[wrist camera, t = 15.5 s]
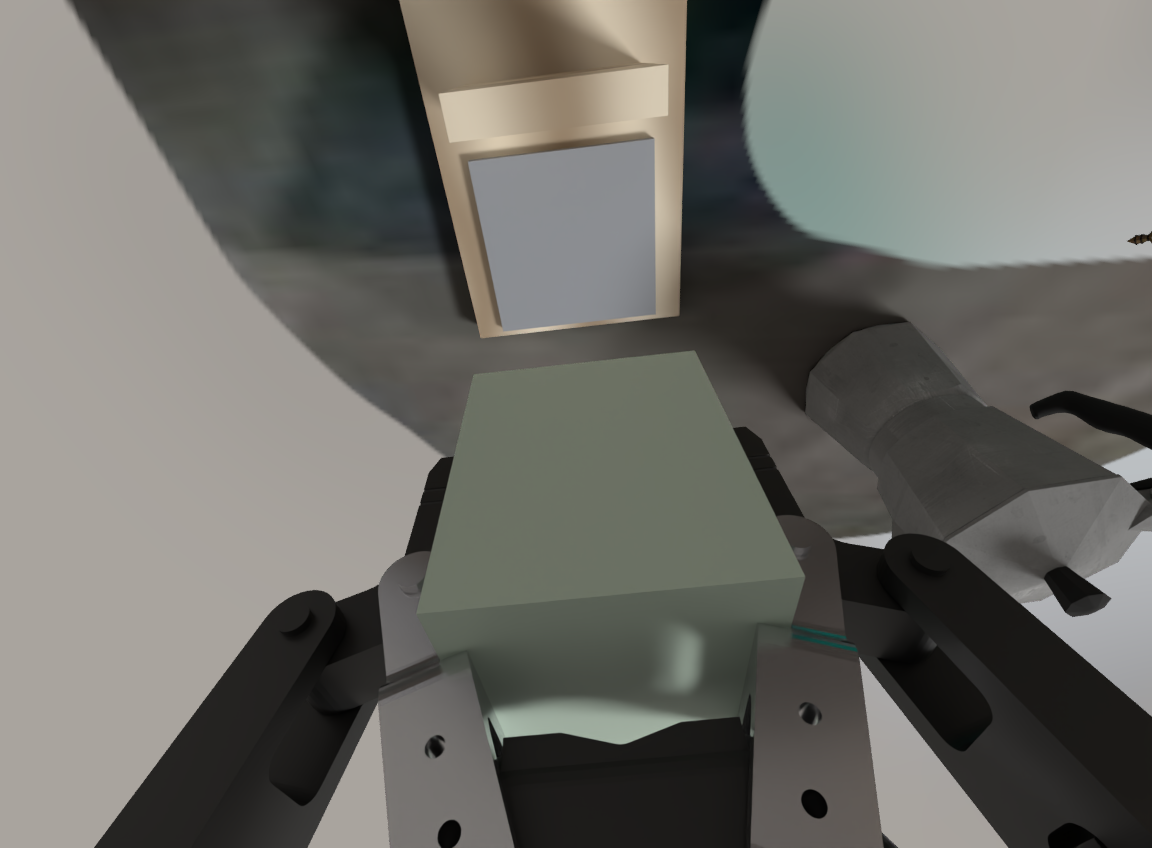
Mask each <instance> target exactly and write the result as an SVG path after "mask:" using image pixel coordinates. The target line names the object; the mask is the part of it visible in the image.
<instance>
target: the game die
mask: <svg viewBox="0 0 1152 848" xmlns="http://www.w3.org/2000/svg"><path fill="white" fill-rule="evenodd" d="M1146 241H1151V243H1152V232H1151V233H1150V234H1149V235H1144V234H1141V235H1135V237H1133V238H1132V239H1130V240H1128V242H1131V243H1134V244H1136V245H1137V244H1139V243H1141V244H1143V243H1144V242H1146Z"/></svg>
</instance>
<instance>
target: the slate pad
mask: <svg viewBox="0 0 1152 848" xmlns="http://www.w3.org/2000/svg"><path fill="white" fill-rule="evenodd" d="M468 165H469V170H470V175H471V180H472V184H473V189H474V194H475V199H476V203H477V208H478V213H479V218H480V223H481V227H482V232H483V237H484V242H485V246H486V251H487V256H488V261H489V266H490V270H491V275H492V280H493V285H494V289H495V294H496V299H497V304H498V308H499V313H500V318H501V323H502V328H503V332H504V331H513V330H521V329H530V328H539V327H548V326H557V325H566V324H574V323H583V322H592V321H601V320H610V319H619V318H627V317H636V316H645V315H654V314H656V274H655V139H654V138H653V137H652V138H644V139H636V140H628V141H620V142H612V143H603V144H595V145H587V146H579V147H571V148H563V149H555V150H547V151H539V152H531V153H522V154H514V155H506V156H498V157H490V158H482V159H474V160H469V161H468Z"/></svg>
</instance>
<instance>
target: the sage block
mask: <svg viewBox="0 0 1152 848" xmlns="http://www.w3.org/2000/svg"><path fill="white" fill-rule="evenodd" d="M804 580H805V575H804V573H803V571H802V569H801V567H800V565H799V562H798V560H797V558H796V556H795V554H794V552H793V550H792V548H791V546H790V544H789V542H788V540H787V538H786V536H785V534H784V532H783V530H782V528H781V526H780V524H779V522H778V520H777V518H776V516H775V513H774V511H773V509H772V507H771V505H770V503H769V501H768V499H767V497H766V495H765V493H764V491H763V489H762V487H761V485H760V483H759V481H758V479H757V477H756V475H755V473H754V471H753V469H752V466H751V464H750V462H749V460H748V458H747V456H746V454H745V452H744V450H743V448H742V446H741V444H740V442H739V440H738V438H737V436H736V434H735V432H734V430H733V428H732V426H731V424H730V422H729V419H728V417H727V415H726V413H725V411H724V409H723V407H722V405H721V403H720V401H719V399H718V397H717V395H716V393H715V391H714V389H713V387H712V385H711V383H710V381H709V379H708V377H707V375H706V372H705V370H704V368H703V366H702V364H701V362H700V360H699V358H698V356H697V354H696V352H695V350H694V351H685V352H676V353H667V354H658V355H648V356H639V357H630V358H621V359H612V360H603V361H593V362H584V363H575V364H566V365H557V366H547V367H538V368H529V369H520V370H511V371H501V372H492V373H483V374H474V375H473V380H472V384H471V388H470V392H469V396H468V400H467V405H466V409H465V413H464V417H463V421H462V425H461V430H460V434H459V438H458V442H457V446H456V450H455V455H454V459H453V463H452V467H451V471H450V475H449V480H448V484H447V488H446V492H445V496H444V500H443V504H442V509H441V513H440V517H439V521H438V525H437V529H436V534H435V538H434V542H433V546H432V550H431V554H430V559H429V563H428V567H427V571H426V575H425V579H424V584H423V588H422V592H421V596H420V600H419V604H418V609H417V613H416V615H417V617H418V619H419V621H420V622H421V624H422V626H423V628H424V630H425V632H426V634H427V636H428V638H429V640H430V642H431V644H432V646H433V648H434V650H435V652H436V653H437V655H438V657H439V659H440V660H442V659H445V658H447V657H449V656H452V655H454V654H457V653H459V652H462V651H465V650H467V651H468V653H469V655H470V657H471V660H472V662H473V664H474V667H475V669H476V671H477V673H478V676H479V678H480V680H481V682H482V685H483V687H484V689H485V691H486V694H487V696H488V698H489V701H490V703H491V705H492V707H493V710H494V712H495V714H496V716H497V719H498V721H499V723H500V725H501V728H502V730H503V732H504V735H505V737H516V736H528V735H539V734H550V733H565V734H570V735H575V736H580V737H585V738H590V739H594V740H599V741H604V742H609V743H614V744H626V743H629V742H632V741H634V740H637V739H639V738H642V737H644V736H647V735H649V734H652V733H654V732H657V731H659V730H662V729H664V728H667V727H669V726H672V725H674V724H677V723H679V722H685V721H696V720H707V719H718V718H729V717H737V715H738V710H739V706H740V701H741V696H742V691H743V687H744V682H745V677H746V673H747V668H748V663H749V658H750V654H751V649H752V644H753V640H754V635H755V630H756V625H757V623H764V624H770V625H775V626H780V627H784V628H789V629H790V628H791V625H792V622H793V618H794V615H795V611H796V608H797V604H798V601H799V597H800V594H801V590H802V587H803V583H804Z"/></svg>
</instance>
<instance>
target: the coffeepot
mask: <svg viewBox="0 0 1152 848" xmlns="http://www.w3.org/2000/svg"><path fill="white" fill-rule="evenodd" d="M1030 411H1031V414H1032V416H1033V417H1034V418H1035V419H1039V418H1041V417H1044V416H1047V415H1051V414H1055V413H1070V414H1073V415H1075V416H1077V417H1079V418H1080V419H1082V420H1083V421H1085V422H1086V423H1088V424H1089V425H1091V426H1093V427H1095V428H1096V429H1099V430H1102V431H1105V432H1108V433H1112V434H1117V435H1122V436H1125V437H1128V438H1130V439H1132V440H1134V441H1136V442H1138V443H1139V444H1141V445H1143V446H1145V447H1147V448H1149V449H1151V450H1152V415H1150V414H1147V413H1144V412H1141V411H1138V410H1135V409H1132V408H1129V407H1125V406H1121V405H1118V404H1114V403H1111V402H1108V401H1105V400H1101V399H1097V398H1094V397H1090V396H1087V395H1084V394H1080V393H1077V392H1074V391H1063V392H1060V393H1057V394H1054V395H1052V396H1049V397H1047V398H1044V399H1042V400H1040V401H1037V402H1035V403H1033V404H1031V405H1030ZM805 414H806V415H807V416H809V417H810V418H811V419H812V420H813V421H814V422H815V423H817V424H818V425H819V426H820V427H821V428H822V429H823V430H825V431H826V432H827V433H828V434H829V435H830V436H831V437H833V438H834V439H835V440H836V441H837V442H838V443H839V444H841V445H842V446H843V447H844V448H845V449H846V450H847V451H849V452H850V453H851V454H852V455H853V456H854V457H855V458H857V459H858V460H859V461H860V462H861V463H862V464H864V465H865V466H866V467H868V468H869V469H870V470H872V471H873V472H874V473H875V474H876V476H877V477H878V486H877V489H878V491H879V493H880V495H881V497H882V499H883V501H884V503H885V505H886V507H887V509H888V511H889V513H890V515H891V517H892V520H893V521H892V538H893V537H895V536H898V535H901V534H909V533H912V534H922V535H927V536H930V537H934V538H936V539H939V540H941V541H943V542H945V543H947V544H949V545H951V546H952V547H954V548H955V549H956V550H958V551H959V552H960V553H962V554H963V555H964V556H965V557H966V558H967V559H969V560H970V561H971V562H972V563H973V564H974V565H976V566H977V567H978V568H979V569H980V570H981V571H983V572H984V573H985V574H986V575H987V576H988V577H990V578H991V579H992V580H993V581H994V582H995V583H997V584H998V585H999V586H1000V587H1001V588H1002V589H1004V590H1005V591H1006V592H1007V593H1008V594H1009V595H1011V596H1012V597H1013V598H1014V599H1015V600H1016V601H1017V602H1019V603H1026V602H1034V601H1041V600H1043V599H1045V598H1047V597H1049V596H1051V595H1053V594H1054V596H1055V597H1056V599H1057V600H1058V602H1059V603H1060V605H1061V607H1062V608H1063V610H1064V611H1065V613H1067V614H1069V615H1070V616H1072V617H1075V616H1083V615H1089V614H1091V613H1094V612H1096V611H1098V610H1100V609H1102V608H1104V607H1105V606H1106V605H1107V603H1108V602H1109V601H1110V599H1111V598H1110V597H1109V596H1107V595H1106V594H1105V593H1103V592H1102V591H1100V590H1099V589H1098V588H1096V587H1095V586H1093V585H1092V584H1091V583H1089V582H1088V581H1086V580H1085V578H1087V577H1089V576H1091V575H1093V574H1095V573H1097V572H1099V571H1101V570H1103V569H1105V568H1107V567H1109V566H1111V565H1113V564H1115V563H1117V562H1119V560H1120V559H1121V558H1122V556H1123V555H1124V553H1125V552H1126V551H1127V549H1128V548H1129V547H1130V545H1131V544H1132V543H1133V542H1134V540H1135V539H1136V537H1137V536H1138V535H1139V534H1140V532H1141V531H1152V478H1148V479H1145V480H1141V481H1138V482H1134V483H1130V484H1129V483H1128V482H1127V481H1126V480H1125V479H1124V478H1123V477H1121V476H1120V475H1118V474H1117V475H1116V474H1114V473H1112V472H1111V471H1109V470H1107V469H1105V468H1104V467H1102V466H1100V465H1098V464H1096V463H1095V462H1093V461H1091V460H1089V459H1087V458H1085V457H1084V456H1082V455H1080V454H1078V453H1076V452H1075V451H1073V450H1071V449H1069V448H1067V447H1066V446H1064V445H1062V444H1060V443H1058V442H1056V441H1055V440H1053V439H1051V438H1049V437H1047V436H1046V435H1044V434H1042V433H1040V432H1038V431H1036V430H1035V429H1033V428H1031V427H1029V426H1027V425H1026V424H1024V423H1022V422H1020V421H1018V420H1017V419H1015V418H1013V417H1011V416H1009V415H1007V414H1006V413H1004V412H1002V411H1000V410H998V409H997V408H995V407H993V406H987V405H986V404H985V403H984V401H983V400H982V399H981V398H980V396H979V395H978V394H977V393H976V392H975V390H974V389H973V388H972V387H971V385H970V384H969V383H968V382H967V381H966V379H965V378H964V377H963V376H962V374H961V373H960V372H959V371H958V369H957V368H956V367H955V366H954V365H953V363H952V362H951V361H950V360H949V358H948V357H947V356H946V355H945V354H944V352H943V351H942V350H941V349H940V348H939V347H938V346H937V345H936V344H935V343H933V342H932V341H931V340H930V339H929V338H928V337H927V336H926V335H924V334H923V333H922V332H921V331H920V330H919V329H918V328H916V327H915V326H914V325H913V324H912V323H911V322H904V323H894V324H884V325H877V326H873V327H869V328H866V329H863V330H861V331H856V332H853V333H851V334H850V335H848V336H847V337H846V338H844V339H843V340H841V341H840V342H839V343H837V344H836V345H835V346H834V347H832V348H831V349H830V350H829V351H828V352H827V353H826V354H825V355H824V356H823V357H822V358H821V359H820V361H819V362H818V363H817V365H816V366H815V368H814V369H813V370H811V371H810V374H809V379H808V383H807V387H806V410H805Z"/></svg>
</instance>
